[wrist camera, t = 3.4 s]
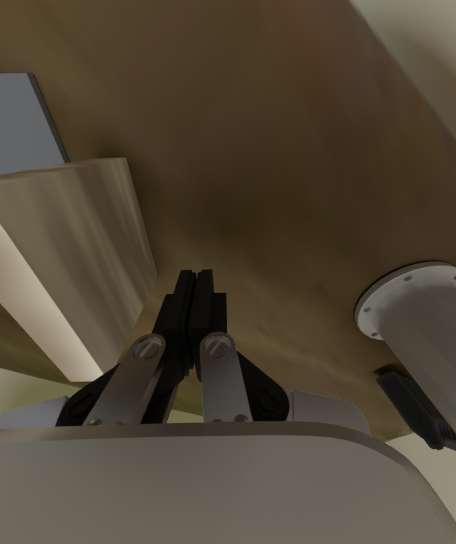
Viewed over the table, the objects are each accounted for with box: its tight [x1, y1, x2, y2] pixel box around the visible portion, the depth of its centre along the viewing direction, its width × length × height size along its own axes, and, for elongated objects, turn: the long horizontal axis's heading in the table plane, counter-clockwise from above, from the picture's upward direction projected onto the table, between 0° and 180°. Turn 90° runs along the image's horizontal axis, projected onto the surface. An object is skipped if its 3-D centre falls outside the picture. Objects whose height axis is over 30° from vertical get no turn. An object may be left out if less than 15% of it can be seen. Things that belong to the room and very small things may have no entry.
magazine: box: [376, 371, 456, 451], centre depth 35 cm, size 17×3×30 cm
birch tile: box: [0, 157, 158, 382], centre depth 15 cm, size 2×12×12 cm, turn 1°
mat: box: [0, 73, 70, 175], centre depth 20 cm, size 13×22×1 cm, turn 1°
